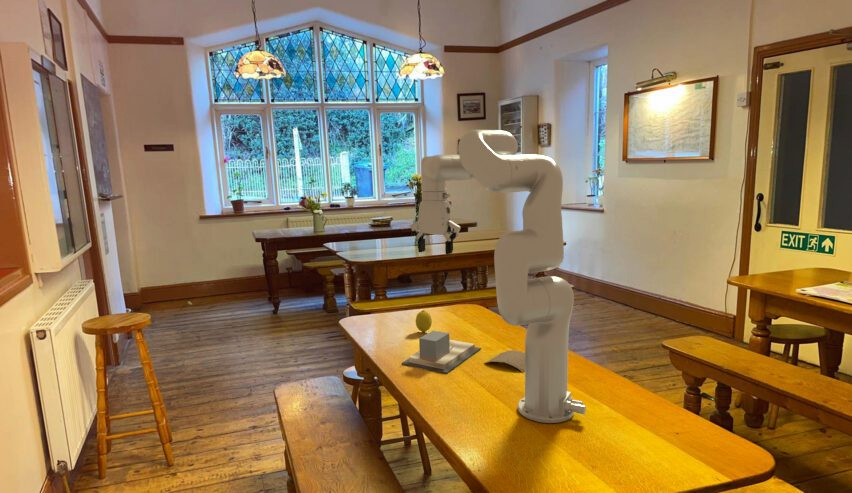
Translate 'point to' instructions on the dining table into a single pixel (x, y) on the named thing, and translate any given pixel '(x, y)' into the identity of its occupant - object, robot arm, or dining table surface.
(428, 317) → the lemon
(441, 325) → the dining table surface
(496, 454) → the dining table surface
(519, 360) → the clay tablet
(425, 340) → the block
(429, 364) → the board
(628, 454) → the dining table surface
